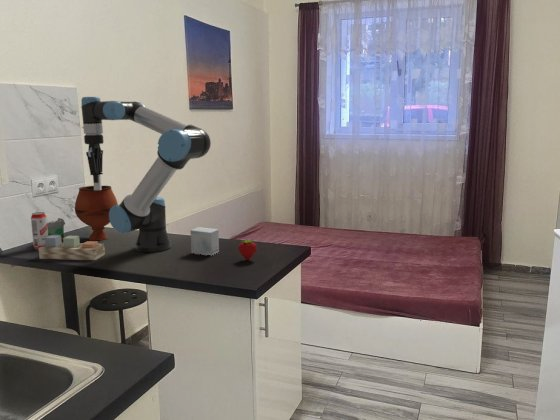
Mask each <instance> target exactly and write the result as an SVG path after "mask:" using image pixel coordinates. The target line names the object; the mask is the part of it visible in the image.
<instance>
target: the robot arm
mask: <svg viewBox="0 0 560 420" xmlns="http://www.w3.org/2000/svg"><path fill="white" fill-rule="evenodd" d="M80 101H81V107H80V108H81V113H82V114H81V115H82V124H83V126H82V129H83V134H85V135H84V136H83V138H84V139H83V140H84V144H85V145H88V151H86V152H85V153H86V154H85V155H86V158H87V163H88V167H89V173H90V174H89V175H90V176H92V183H93V186H94V190H102V188H101V186H102V176H101V175H103V174H104V173H103V161H104V160H103V157H104V150H103V149H102V148H101V145H103V144H104V135H103V133H104V129H103V121H120V120H121V121H123V120H124V121H128V120H129V121H132V122H134V123H137V124H139V125H141V126H142V127H145V128H148V129H150V130H151V131H154V132H155V133H158V134H160V136H159V138H158V142H157V145H158V146H157V152H156V153H157V158H156V159H155V161H154V162H153V163H152V165H151V166H150V167H149V169H148V170H147V172H146V174H145V175H144V177H142V179H141V180H140V182H139V183H138V185H137V186H136V188H135V189H134V190H133V192H132V194H127V195H126V196H124V198H123V199H122V201H121V202H120V203H119V204H118V205H115V206H113V207H112V208H111V209H110V211H109V219H110V223H109V224H110V226H111V227H112V228H113V229H114V230H115V231H116V232H117V233H121V234H125V233H130V232H133V231H136V230H138V235H137V237H136V242H135V251H138V252H143V253H155V252H163V251H167V250H168V249H170V248H171V246H172V242H171V239H170V237H169V233H168V232H167V221H166V219H167V218H166V217H167V216H166V215H167V214H166V203H165V199H164V198H163V197H159V195H160V194H161V192H162V191H163V189H164V188H165V186H166V185H167V184H168V183H169V181H170V180H171V179H172V177H173V176H174V174H175V173H176V172H177V171H180V170H182V169H184V167H185V166H186V165H187V163H188V162H189V161H190V160H195V159H199V158H200V159H201V158H202V157H204V156H206V154H207V153H208V152H209V151H210V149H211V144H212V142H211V138H210V137H211V136H209V134H208V133H207V131H205V129H202V128H200V127H197V126H195V125H193V124H188V125H187V124H184V123H182V122H180V121H177V120H175V119H172V118H170V117H168V116H166V115H163V114H162V113H159V112H157V111H154V110H152V109H150V108H147V107H146V106H145V104H144V103H142V102H139V101H120V100H119V101H116V100H107V101H101V98H100V97H99V96H82V97H81V100H80Z"/></svg>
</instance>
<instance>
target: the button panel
mask: <svg viewBox="0 0 560 420" xmlns="http://www.w3.org/2000/svg"><path fill="white" fill-rule="evenodd" d="M83 243H84V242H83ZM83 243H80V245H79V246H77V247H75V248H64V244H63V242H62V245H60V246H58V247H56V248H55V247H45V245H44V246H42V247H40V248H39V250H38V255H39V256H38V257H39V260H75V261H77V260H78V261H97V260H98V259H100V258H101V257H103V256H104V255H106V249H105V243H98V246H97V247H96V248H94V249H92V248H82V244H83Z"/></svg>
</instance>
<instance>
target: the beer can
mask: <svg viewBox="0 0 560 420" xmlns="http://www.w3.org/2000/svg"><path fill="white" fill-rule="evenodd" d="M47 218H48V217H47V215H46V213H45V212H44V211H37V212H33V213H31V216H30V223H31V235H32V242H33V243H32V244H33V249H35V250H36V251H39V248H40V247H42V246H44V245H45V237H48V227H47V223H48V219H47Z"/></svg>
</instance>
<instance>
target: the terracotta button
mask: <svg viewBox="0 0 560 420" xmlns="http://www.w3.org/2000/svg"><path fill="white" fill-rule="evenodd" d="M98 244H99V240H96V241H93V240H89V241H88V240H87V241H85V242H83V244H82V248H92V249H94V248H96V247H97V246H98Z"/></svg>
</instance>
